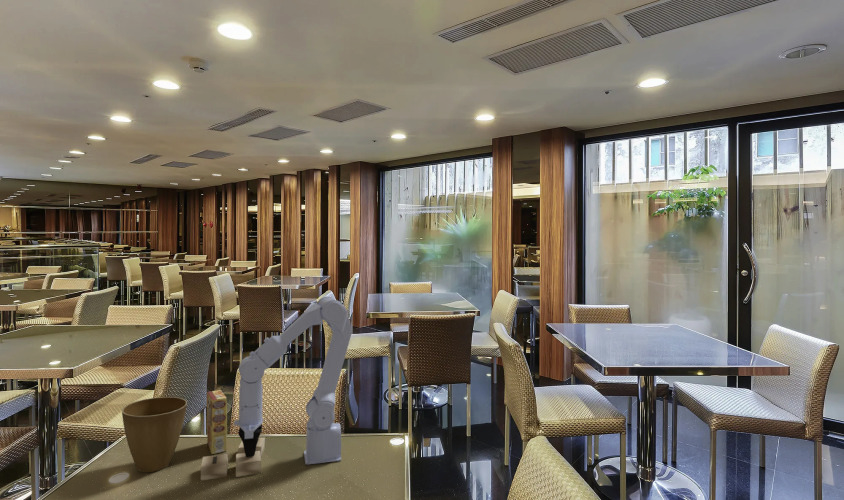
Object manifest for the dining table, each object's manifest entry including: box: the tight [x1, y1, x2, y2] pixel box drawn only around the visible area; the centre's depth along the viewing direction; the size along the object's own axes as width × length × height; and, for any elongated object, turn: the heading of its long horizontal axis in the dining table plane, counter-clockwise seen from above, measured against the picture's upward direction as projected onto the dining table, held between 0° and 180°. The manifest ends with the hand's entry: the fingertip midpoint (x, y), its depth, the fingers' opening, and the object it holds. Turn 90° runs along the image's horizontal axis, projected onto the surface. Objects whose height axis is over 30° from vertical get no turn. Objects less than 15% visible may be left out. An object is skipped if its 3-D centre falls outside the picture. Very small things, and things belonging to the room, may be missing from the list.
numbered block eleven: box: [237, 437, 266, 459], centre depth 131 cm, size 6×6×4 cm
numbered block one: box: [200, 453, 229, 481], centre depth 120 cm, size 6×6×4 cm
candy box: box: [206, 389, 228, 455], centre depth 135 cm, size 9×4×15 cm, turn 33°
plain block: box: [235, 451, 262, 478], centre depth 122 cm, size 6×6×4 cm
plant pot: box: [121, 396, 188, 473], centre depth 123 cm, size 15×15×16 cm
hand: (250, 455), depth 122 cm, fingers closed
